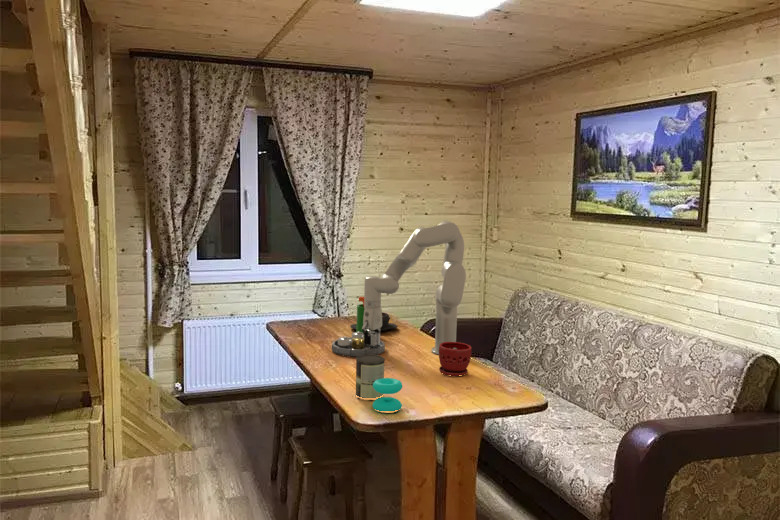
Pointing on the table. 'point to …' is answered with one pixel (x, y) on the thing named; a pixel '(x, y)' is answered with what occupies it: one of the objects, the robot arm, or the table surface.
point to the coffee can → (368, 375)
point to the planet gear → (374, 338)
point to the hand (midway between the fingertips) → (371, 342)
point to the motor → (360, 315)
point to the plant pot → (454, 358)
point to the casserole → (385, 323)
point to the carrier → (356, 346)
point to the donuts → (387, 388)
